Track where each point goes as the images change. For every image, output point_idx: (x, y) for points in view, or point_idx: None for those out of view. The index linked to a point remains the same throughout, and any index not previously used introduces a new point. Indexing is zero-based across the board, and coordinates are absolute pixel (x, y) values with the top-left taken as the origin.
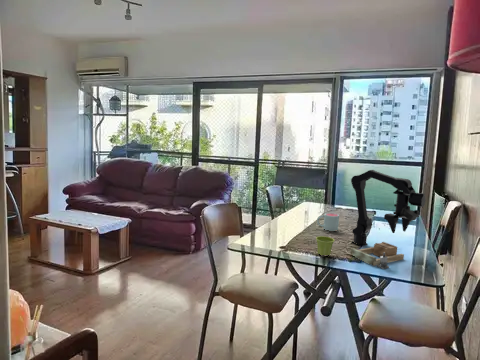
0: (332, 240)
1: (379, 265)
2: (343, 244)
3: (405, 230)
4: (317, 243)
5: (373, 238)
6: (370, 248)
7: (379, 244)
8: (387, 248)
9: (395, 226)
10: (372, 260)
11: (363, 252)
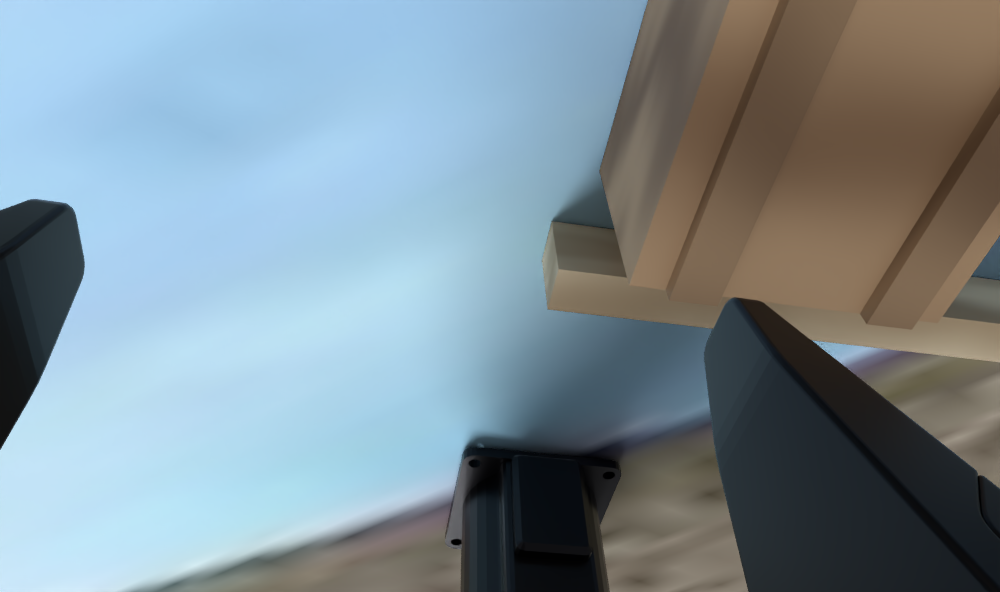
0: None
1: None
2: (715, 551)
3: (13, 214)
4: None
5: (146, 522)
6: (837, 313)
7: (946, 252)
8: None
9: (969, 516)
10: None
11: (986, 297)
